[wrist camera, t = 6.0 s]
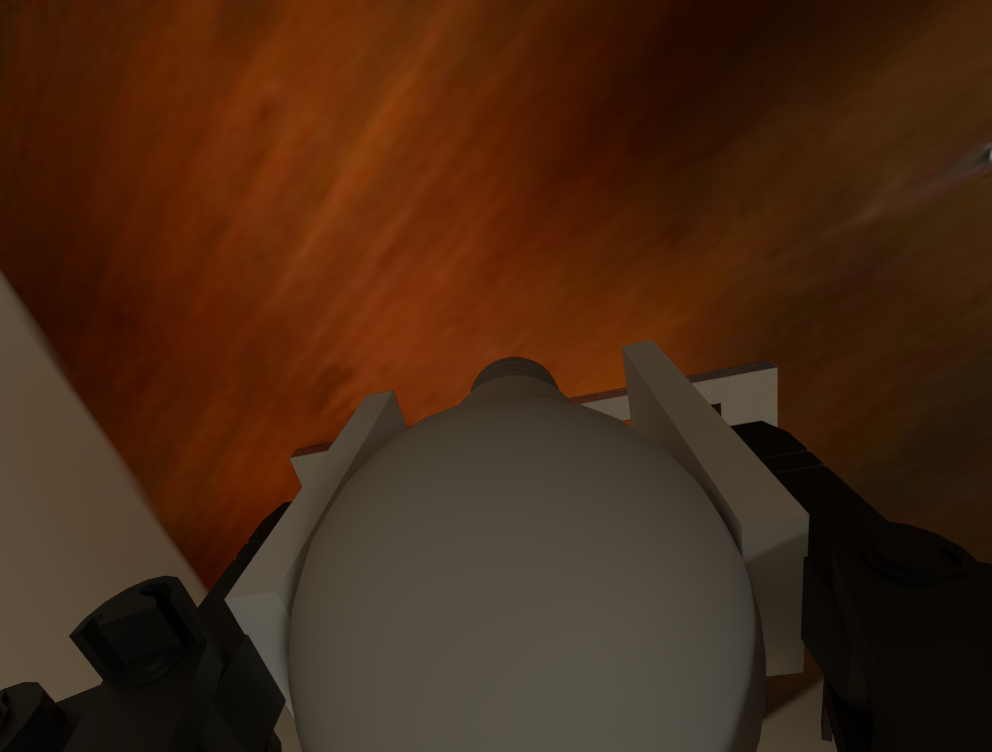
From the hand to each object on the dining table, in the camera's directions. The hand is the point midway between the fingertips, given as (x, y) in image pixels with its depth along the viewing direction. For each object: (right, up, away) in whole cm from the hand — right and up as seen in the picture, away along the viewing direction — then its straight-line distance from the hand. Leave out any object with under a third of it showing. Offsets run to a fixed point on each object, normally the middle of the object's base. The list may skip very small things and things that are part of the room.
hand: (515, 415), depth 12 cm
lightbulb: (0, +1, +2) cm, 2 cm away
